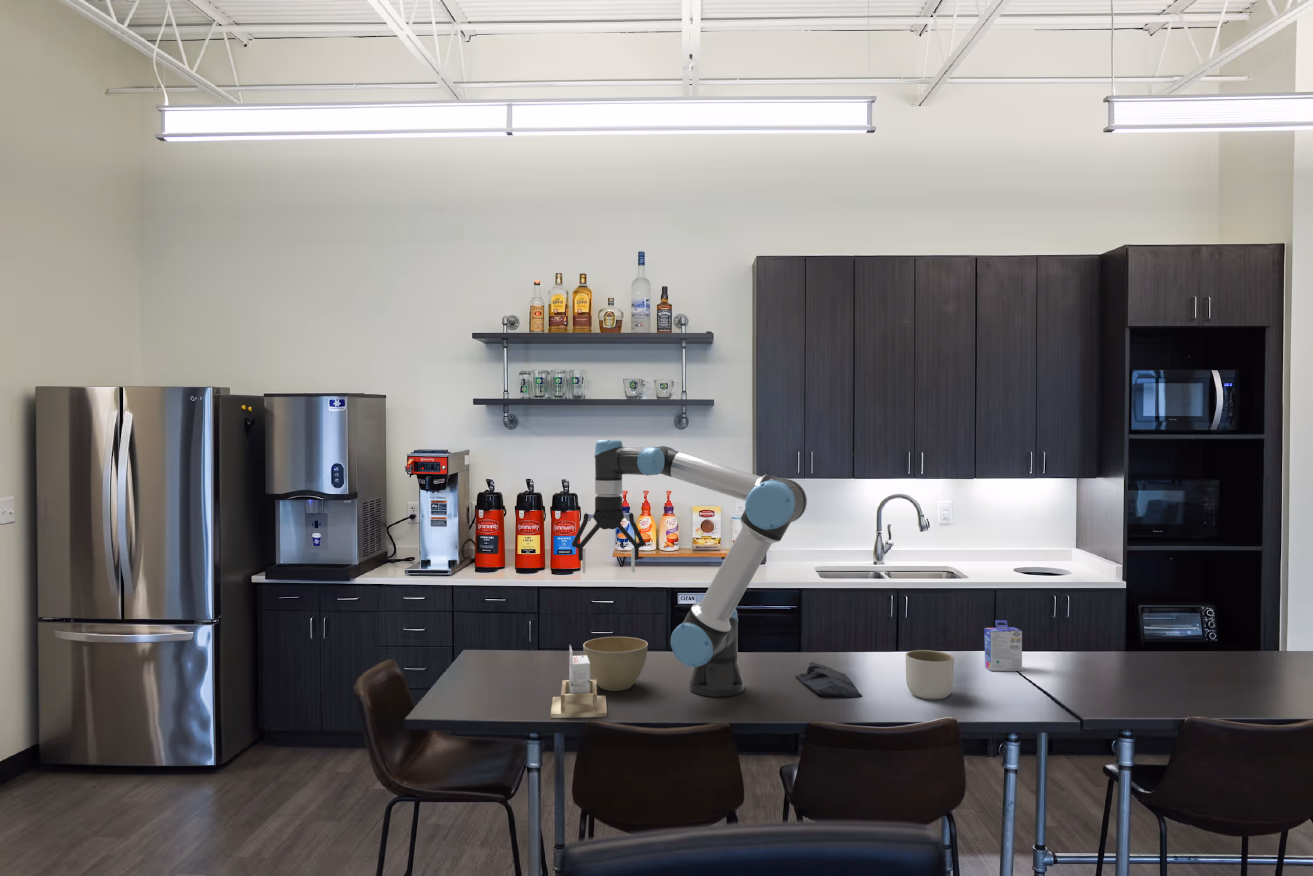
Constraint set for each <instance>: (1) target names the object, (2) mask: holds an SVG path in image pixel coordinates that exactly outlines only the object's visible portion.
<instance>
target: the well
mask: <svg viewBox="0 0 1313 876" xmlns="http://www.w3.org/2000/svg"><path fill="white" fill-rule="evenodd" d="M597 685H598V683H597V682H596V680H595V679H590V693H588V694H569V679H565V680H564V679H563V680H561V691H560V696H552V700H551V701H552V703H551V708H550V719H562V718H564V719H565V718H568V719H569V718H571V719H572V718H573V719H574V718H576V719H577V718H607V717H608V711H607V699H606V698H607V696H606V695H598V690H597V687H598V686H597Z"/></svg>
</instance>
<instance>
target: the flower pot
mask: <svg viewBox="0 0 1313 876" xmlns="http://www.w3.org/2000/svg"><path fill="white" fill-rule="evenodd" d="M582 646H583V647H582V648H583V649H582V650H583V654H584V655H587V656H588V659H589V662H590V676H592V678H593V680H596V684H597V685H598V686H599V687H600V688H601V689H602V690H604V691H609V692H621V691H625V690H628V689H630V688H631V687H633V685H634V684H635V682H636V681H637V680H638V678H639V677H640V674H641V672H642V670H643V668H644V666H645V662H646V661H647V659H646V658H647V656H648V655H647V654H648V647H649V646H648V642H647V641H646V640H644V639H641V638H638V637H629V636H606V637H598V638H593V639H590V640H587V641H585V642H584V643H583V645H582Z"/></svg>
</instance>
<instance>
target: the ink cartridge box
mask: <svg viewBox="0 0 1313 876" xmlns="http://www.w3.org/2000/svg"><path fill="white" fill-rule="evenodd" d="M994 622H995V623H994V624H995V627H984V631H983V632H984V633H983V634H984V635H983V636H984V668H986V669H987V670H989V671H991V672H998V671H999V672H1006V671H1007V672H1008V671H1009V672H1010V671H1011V672H1013V671H1014V672H1018V671H1019V672H1022V671H1023V630H1021V629H1019V628H1017V627H1013V626H1012V627H1011V626H1010V627H1009V625H1008V621H1007V620H1006V619H1004V620H1003V619H1002V620H998V619H995V621H994ZM999 623H1001V624H999Z"/></svg>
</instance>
